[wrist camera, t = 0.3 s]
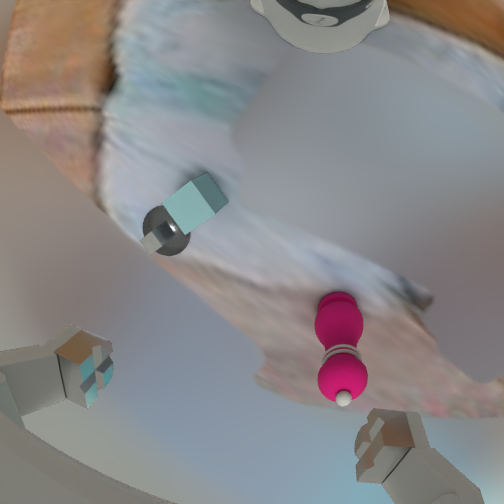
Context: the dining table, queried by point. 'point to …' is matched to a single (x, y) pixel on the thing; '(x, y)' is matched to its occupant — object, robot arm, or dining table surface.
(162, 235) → the grey round stand
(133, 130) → the dining table surface
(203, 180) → the teal rectangular block
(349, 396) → the pepper mill
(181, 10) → the dining table surface
